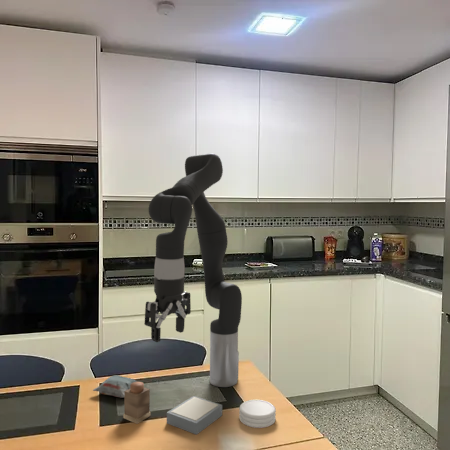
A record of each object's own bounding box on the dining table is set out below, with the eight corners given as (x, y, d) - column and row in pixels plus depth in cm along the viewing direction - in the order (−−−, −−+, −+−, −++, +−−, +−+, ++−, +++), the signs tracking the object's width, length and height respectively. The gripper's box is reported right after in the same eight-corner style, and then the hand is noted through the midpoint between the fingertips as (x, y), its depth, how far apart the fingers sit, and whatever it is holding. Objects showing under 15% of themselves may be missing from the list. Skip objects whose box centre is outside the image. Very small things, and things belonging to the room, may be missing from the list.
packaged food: (124, 403, 125) (124, 387, 125) (92, 396, 130) (92, 380, 130) (141, 392, 133) (141, 376, 133) (110, 385, 138) (110, 370, 138)
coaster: (245, 431, 111) (245, 418, 111) (234, 413, 121) (234, 400, 121) (281, 426, 114) (281, 413, 114) (267, 408, 123) (267, 397, 123)
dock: (193, 405, 124) (193, 395, 124) (222, 415, 119) (222, 404, 119) (166, 423, 114) (166, 411, 114) (196, 434, 109) (196, 422, 109)
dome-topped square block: (136, 410, 121) (137, 379, 120) (150, 415, 118) (150, 383, 118) (123, 418, 117) (123, 385, 116) (137, 423, 114) (137, 390, 113)
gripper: (177, 267, 115) (176, 325, 117) (137, 276, 103) (137, 340, 105) (199, 272, 110) (197, 332, 112) (159, 282, 99) (158, 348, 101)
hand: (168, 336), depth 109 cm, fingers open, 8 cm apart
